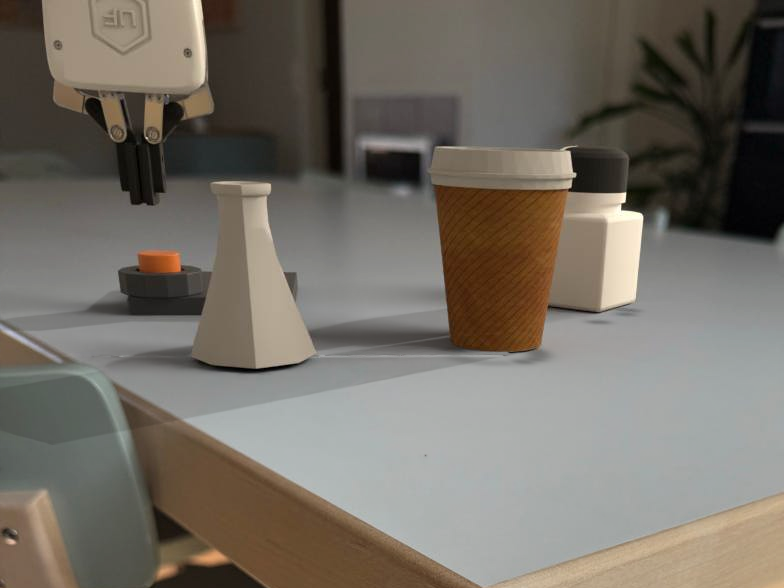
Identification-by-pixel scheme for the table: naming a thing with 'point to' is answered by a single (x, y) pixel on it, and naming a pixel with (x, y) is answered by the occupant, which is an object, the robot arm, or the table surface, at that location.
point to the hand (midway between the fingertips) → (145, 203)
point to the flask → (248, 289)
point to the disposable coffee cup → (499, 240)
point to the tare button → (159, 261)
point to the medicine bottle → (597, 235)
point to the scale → (173, 290)
